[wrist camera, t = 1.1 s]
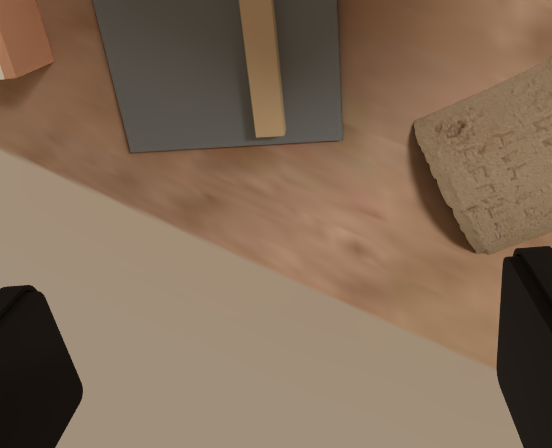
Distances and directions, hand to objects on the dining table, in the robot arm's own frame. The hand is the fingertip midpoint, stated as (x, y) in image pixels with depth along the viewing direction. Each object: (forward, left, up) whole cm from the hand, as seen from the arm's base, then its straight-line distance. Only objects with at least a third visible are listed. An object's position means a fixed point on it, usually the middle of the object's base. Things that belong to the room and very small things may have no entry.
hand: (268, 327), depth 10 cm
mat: (-3, -7, -28) cm, 29 cm away
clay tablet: (+9, +13, -29) cm, 33 cm away
